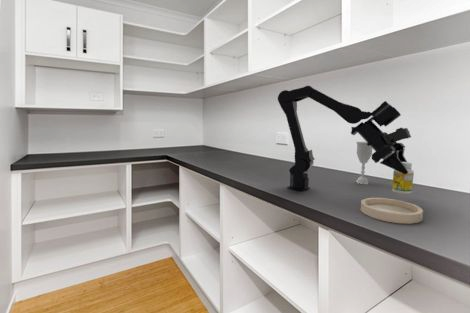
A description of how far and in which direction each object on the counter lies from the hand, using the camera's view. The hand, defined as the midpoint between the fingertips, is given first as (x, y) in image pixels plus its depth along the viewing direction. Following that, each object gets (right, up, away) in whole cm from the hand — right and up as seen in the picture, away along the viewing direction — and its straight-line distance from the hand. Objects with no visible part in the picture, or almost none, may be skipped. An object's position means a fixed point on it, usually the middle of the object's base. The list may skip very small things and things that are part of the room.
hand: (408, 172), depth 79 cm
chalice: (+1, -7, +31) cm, 32 cm away
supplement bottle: (-1, -7, +2) cm, 7 cm away
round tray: (-10, -12, -7) cm, 17 cm away
